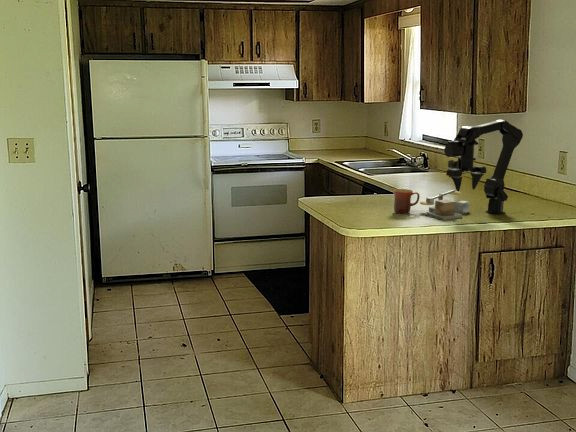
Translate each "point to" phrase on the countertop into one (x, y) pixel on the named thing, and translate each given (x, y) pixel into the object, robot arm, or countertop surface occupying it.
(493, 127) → the robot arm
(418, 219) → the countertop surface
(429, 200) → the balance
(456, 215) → the slate dish
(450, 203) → the walnut block
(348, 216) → the countertop surface
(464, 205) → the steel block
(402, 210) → the mug
